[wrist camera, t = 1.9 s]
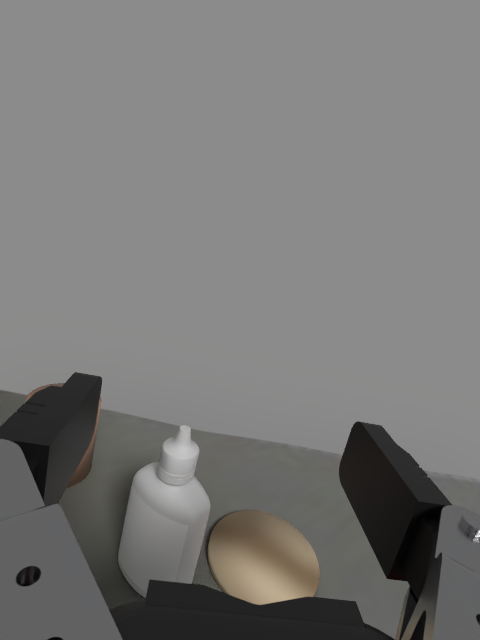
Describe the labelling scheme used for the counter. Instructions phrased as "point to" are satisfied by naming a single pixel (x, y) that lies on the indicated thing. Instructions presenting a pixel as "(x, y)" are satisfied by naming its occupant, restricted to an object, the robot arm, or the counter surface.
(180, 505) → the eye dropper bottle
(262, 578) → the cork coaster
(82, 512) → the counter surface
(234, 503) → the counter surface
